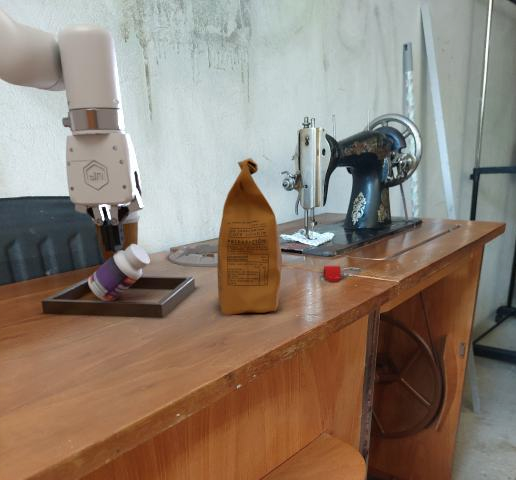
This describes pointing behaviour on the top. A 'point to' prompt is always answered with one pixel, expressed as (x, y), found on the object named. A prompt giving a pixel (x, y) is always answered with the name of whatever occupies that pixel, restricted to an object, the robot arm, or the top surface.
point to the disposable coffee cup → (128, 229)
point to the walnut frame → (69, 305)
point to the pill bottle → (118, 273)
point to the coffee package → (248, 249)
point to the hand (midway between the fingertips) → (114, 249)
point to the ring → (195, 256)
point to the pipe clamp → (332, 273)
